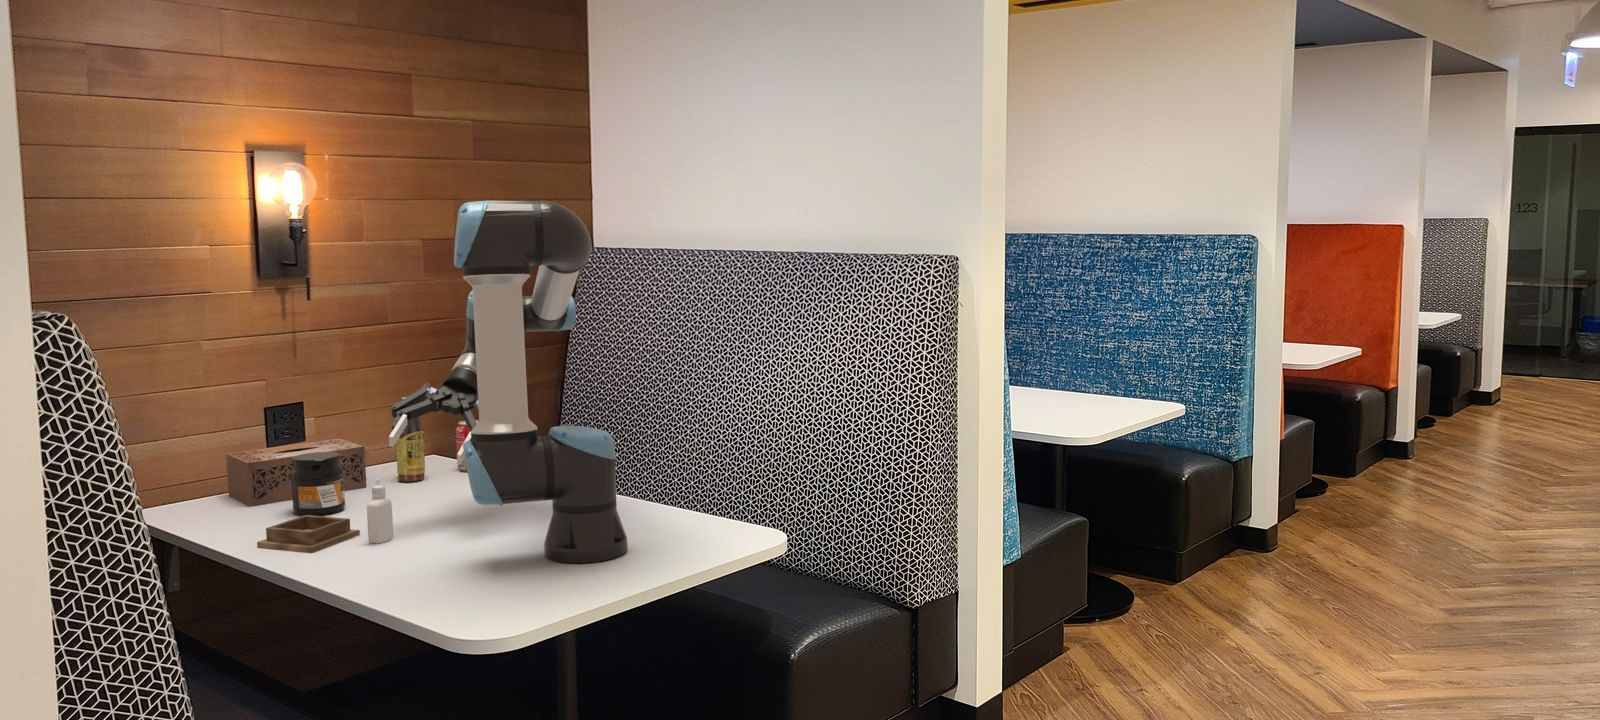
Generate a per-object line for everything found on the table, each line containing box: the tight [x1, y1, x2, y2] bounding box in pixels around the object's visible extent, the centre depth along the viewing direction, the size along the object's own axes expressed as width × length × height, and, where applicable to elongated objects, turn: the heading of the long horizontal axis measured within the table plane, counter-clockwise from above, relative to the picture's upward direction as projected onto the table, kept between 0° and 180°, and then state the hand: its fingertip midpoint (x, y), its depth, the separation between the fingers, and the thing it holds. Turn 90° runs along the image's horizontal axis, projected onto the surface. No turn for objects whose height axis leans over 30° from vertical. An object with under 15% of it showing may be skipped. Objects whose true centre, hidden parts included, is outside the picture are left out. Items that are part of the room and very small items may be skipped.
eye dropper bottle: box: [366, 478, 394, 544], centre depth 227 cm, size 4×6×12 cm
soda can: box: [455, 419, 479, 473], centre depth 291 cm, size 7×7×12 cm
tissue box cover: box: [225, 438, 368, 508], centre depth 269 cm, size 26×14×10 cm, turn 133°
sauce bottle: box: [396, 396, 426, 483], centre depth 279 cm, size 7×6×20 cm
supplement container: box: [290, 452, 346, 516], centre depth 251 cm, size 10×10×12 cm
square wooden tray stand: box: [256, 515, 361, 554], centre depth 227 cm, size 13×13×4 cm
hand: (424, 450), depth 228 cm, fingers open, 13 cm apart
